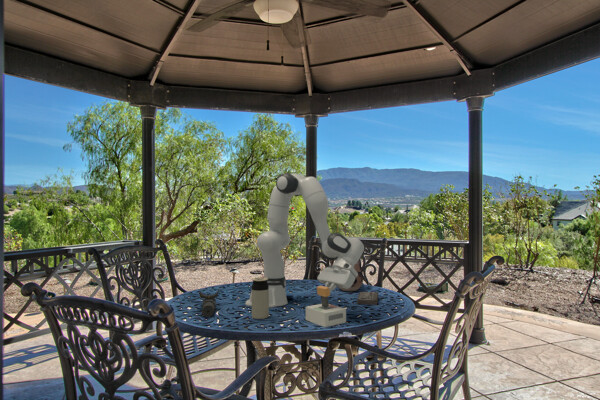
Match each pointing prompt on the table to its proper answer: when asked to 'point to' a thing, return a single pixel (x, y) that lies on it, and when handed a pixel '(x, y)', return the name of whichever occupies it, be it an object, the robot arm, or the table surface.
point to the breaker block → (326, 315)
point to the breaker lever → (324, 295)
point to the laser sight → (208, 304)
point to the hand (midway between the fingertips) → (326, 292)
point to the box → (368, 298)
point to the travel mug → (260, 298)
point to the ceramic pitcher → (358, 279)
